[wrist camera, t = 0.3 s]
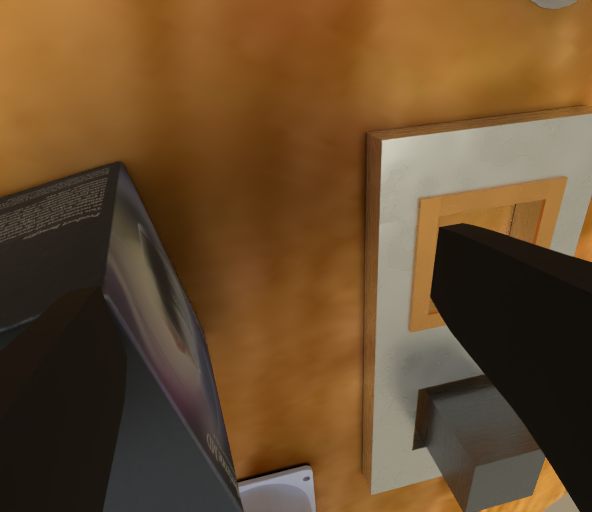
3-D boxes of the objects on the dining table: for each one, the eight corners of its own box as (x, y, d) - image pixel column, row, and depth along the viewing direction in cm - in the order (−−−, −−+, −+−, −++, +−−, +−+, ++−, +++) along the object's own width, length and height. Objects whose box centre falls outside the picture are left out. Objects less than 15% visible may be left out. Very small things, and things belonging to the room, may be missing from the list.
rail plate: (500, 436, 34) (516, 458, 32) (362, 472, 32) (372, 497, 30) (585, 105, 21) (620, 111, 19) (366, 132, 19) (383, 141, 18)
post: (465, 406, 31) (532, 495, 25) (410, 419, 30) (464, 514, 24) (474, 361, 29) (549, 447, 23) (414, 374, 28) (475, 466, 22)
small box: (213, 332, 23) (257, 523, 14) (97, 378, 22) (68, 613, 13) (128, 153, 17) (115, 293, 8) (-35, 206, 16) (-241, 426, 7)
